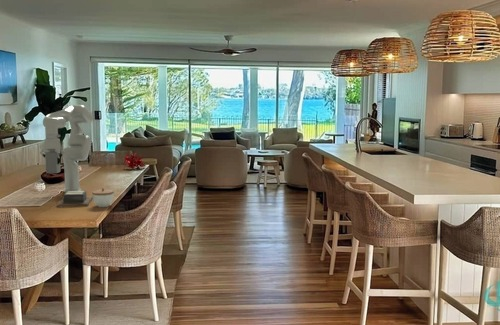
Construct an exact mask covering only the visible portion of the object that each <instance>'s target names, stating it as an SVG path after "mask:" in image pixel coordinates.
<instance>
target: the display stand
mask: <svg viewBox="0 0 500 325" xmlns="http://www.w3.org/2000/svg"><path fill="white" fill-rule="evenodd" d="M92 201H93V196H87V190H82V191H67V192H64V193H63V195H62V199H60V201H59V202H58V203H57V204H56V208H66V207H88V206H89V205H90V204H91V202H92ZM89 203H90V204H89Z"/></svg>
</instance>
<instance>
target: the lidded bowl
mask: <svg viewBox="0 0 500 325" xmlns="http://www.w3.org/2000/svg"><path fill="white" fill-rule="evenodd" d="M92 201H93V202H94V204H95V206H97V207H99V208H107V207H110V205H111V204H112V203H113V201H114V190H113V189H105V188H104V187H101V189H97V190H93V191H92Z"/></svg>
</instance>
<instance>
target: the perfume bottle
mask: <svg viewBox="0 0 500 325" xmlns="http://www.w3.org/2000/svg"><path fill="white" fill-rule="evenodd" d="M47 150H49V151H50V152H45V153H44V154H45V157H44V159H45V172H46V174H58V173H60V172H61V171H62V170H61V162H60V163H59V164H58V160H57V158H58V157H57V152H55V149H47ZM59 154H61V153H59Z"/></svg>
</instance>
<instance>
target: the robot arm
mask: <svg viewBox="0 0 500 325" xmlns="http://www.w3.org/2000/svg"><path fill="white" fill-rule="evenodd" d="M93 118H94V116H93V113H92V112H91V111H90V110H89V109H88V108H87V107H86V106H85V105H83V104H69V105H67V106H66V107H64V108H62V110H61V109H60V110H57V111H55V112H51V113H48V114H47V115H45V116H44V118H43V119H42V125H43V127H44V129H45V130H44V133H45V138H44V141H43V149H42V150H41V151H40V152H39V154H40V155H41V156H42V157H44V158H45V152H50V151H49V150H47V149H55V152H57V157H58V158H57V160H58V164H59V163H60V164H61V157H62V158H63V159H62V160H63V167H64V168H63V169H64V170H63V171H64V185H65V186H64V188H63V190H62V192H63V193H66V192H67V191H83V190H82V188H81V187H80V172H79V168H80V166H79V165H78V162H76V161H79V162H80V161H81V162H82V161H86V160H87V159H88V157H89V154H90V149H91V146H92V138H91V137H90V135H87V134H84V130H83V128H82V127H81V126H82V125H80V124H91V123H92V122H93ZM67 122H69V126H70V128H71V130H70V134H69V137H68V141H67V145H68V146H67V147H65V148H63V149H62V145H61V144H62V143H61V140H60V138H61V134H59V129H63V128H65V127H66V125H67ZM59 153H60V154H59Z"/></svg>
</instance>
